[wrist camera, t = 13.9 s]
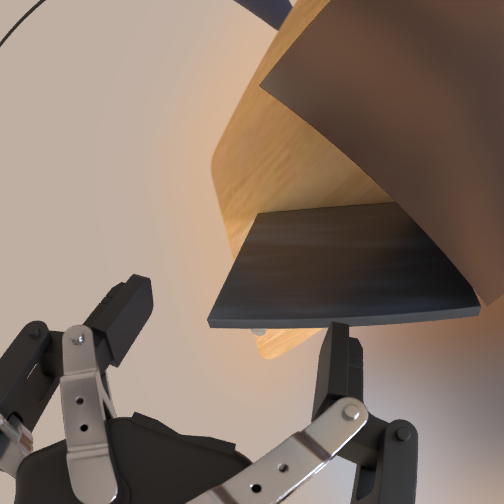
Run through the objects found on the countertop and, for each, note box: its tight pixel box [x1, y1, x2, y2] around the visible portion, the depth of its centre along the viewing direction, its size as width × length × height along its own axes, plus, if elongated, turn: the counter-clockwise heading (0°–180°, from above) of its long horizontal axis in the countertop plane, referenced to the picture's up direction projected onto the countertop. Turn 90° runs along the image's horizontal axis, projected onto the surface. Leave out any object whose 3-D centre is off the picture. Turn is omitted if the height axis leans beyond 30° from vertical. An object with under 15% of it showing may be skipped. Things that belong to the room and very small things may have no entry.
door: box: [207, 203, 481, 336], centre depth 39 cm, size 7×26×24 cm, turn 102°
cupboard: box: [259, 0, 504, 306], centre depth 26 cm, size 18×26×24 cm
